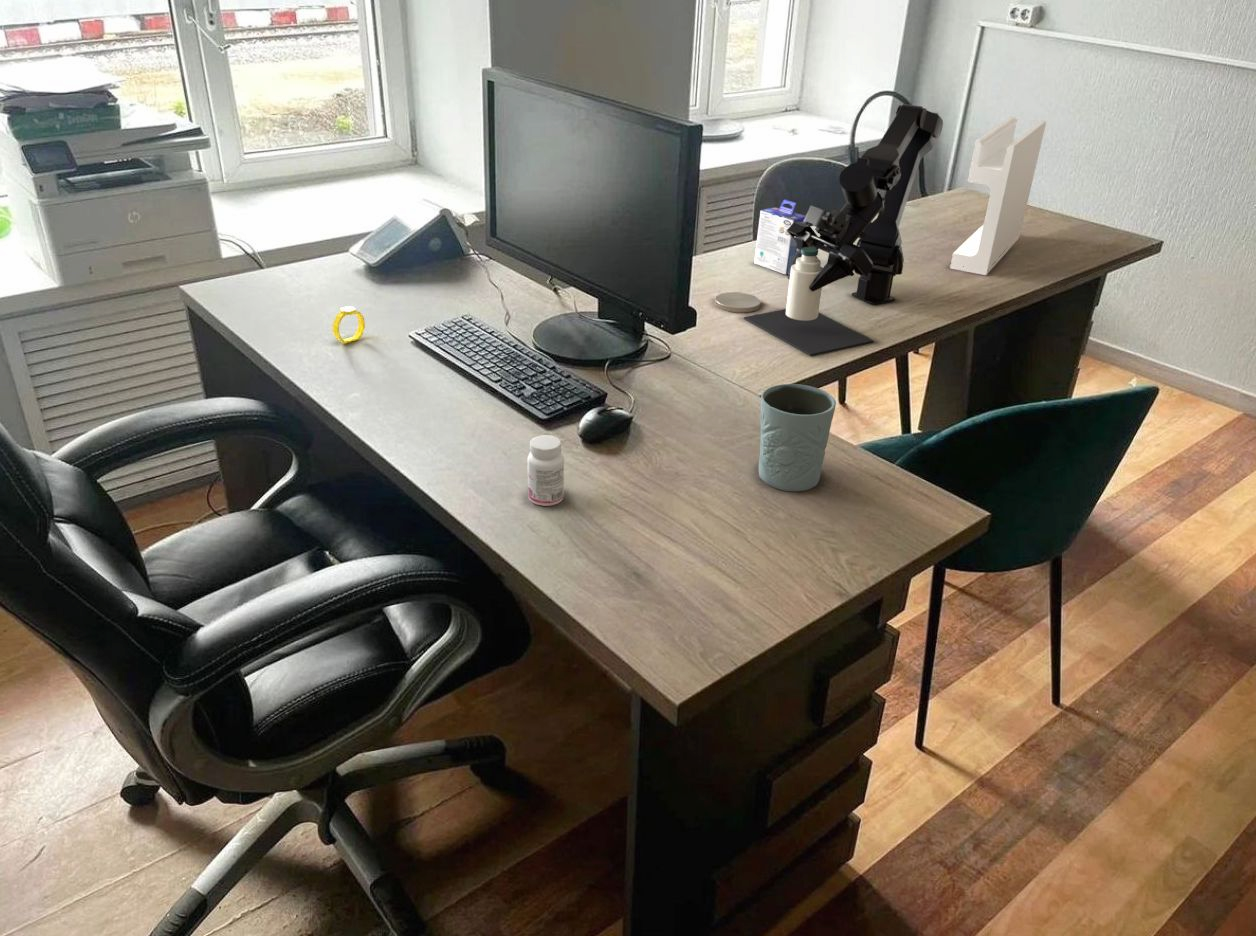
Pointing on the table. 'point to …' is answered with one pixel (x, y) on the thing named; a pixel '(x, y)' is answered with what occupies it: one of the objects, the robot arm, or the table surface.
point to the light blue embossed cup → (794, 435)
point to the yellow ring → (338, 318)
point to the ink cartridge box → (777, 238)
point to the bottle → (804, 287)
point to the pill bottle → (545, 471)
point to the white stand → (1000, 193)
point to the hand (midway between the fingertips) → (799, 284)
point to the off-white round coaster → (737, 302)
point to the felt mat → (809, 332)
